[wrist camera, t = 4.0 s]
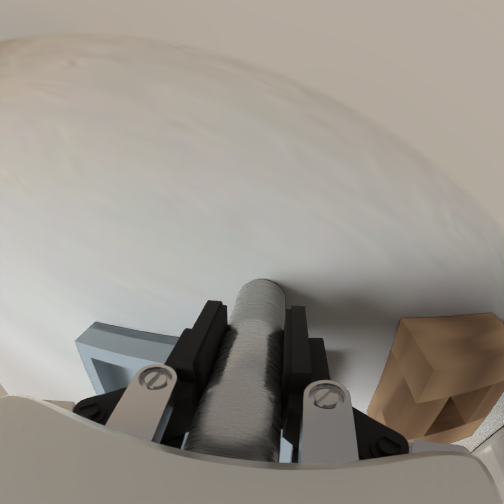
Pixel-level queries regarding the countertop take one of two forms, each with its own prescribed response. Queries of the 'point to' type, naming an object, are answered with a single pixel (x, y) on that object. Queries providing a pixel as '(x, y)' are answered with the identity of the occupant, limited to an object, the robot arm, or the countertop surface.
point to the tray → (128, 359)
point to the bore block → (441, 377)
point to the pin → (245, 381)
